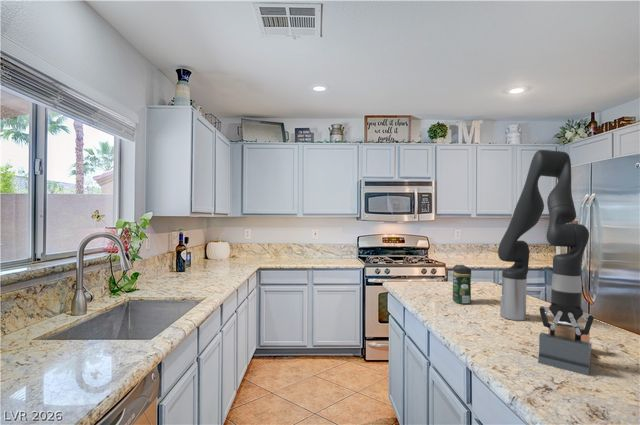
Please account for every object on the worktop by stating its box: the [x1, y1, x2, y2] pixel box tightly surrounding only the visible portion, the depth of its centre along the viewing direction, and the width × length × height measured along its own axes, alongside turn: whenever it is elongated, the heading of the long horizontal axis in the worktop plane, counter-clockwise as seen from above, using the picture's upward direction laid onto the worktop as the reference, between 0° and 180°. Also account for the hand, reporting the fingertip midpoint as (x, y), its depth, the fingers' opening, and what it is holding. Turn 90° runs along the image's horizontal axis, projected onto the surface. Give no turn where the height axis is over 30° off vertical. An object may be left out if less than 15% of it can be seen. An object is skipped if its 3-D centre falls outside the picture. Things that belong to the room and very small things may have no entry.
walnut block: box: [555, 323, 576, 339], centre depth 105 cm, size 5×4×7 cm
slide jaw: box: [547, 321, 591, 342], centre depth 115 cm, size 11×3×6 cm, turn 50°
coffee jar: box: [452, 264, 472, 305], centre depth 172 cm, size 10×8×19 cm
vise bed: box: [537, 332, 592, 376], centre depth 109 cm, size 12×24×8 cm, turn 140°
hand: (565, 343), depth 105 cm, fingers closed on walnut block, 5 cm apart
